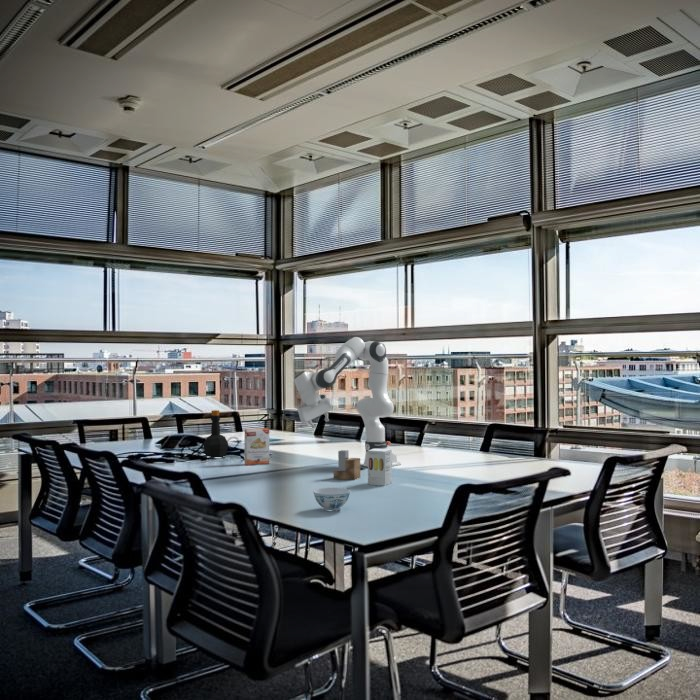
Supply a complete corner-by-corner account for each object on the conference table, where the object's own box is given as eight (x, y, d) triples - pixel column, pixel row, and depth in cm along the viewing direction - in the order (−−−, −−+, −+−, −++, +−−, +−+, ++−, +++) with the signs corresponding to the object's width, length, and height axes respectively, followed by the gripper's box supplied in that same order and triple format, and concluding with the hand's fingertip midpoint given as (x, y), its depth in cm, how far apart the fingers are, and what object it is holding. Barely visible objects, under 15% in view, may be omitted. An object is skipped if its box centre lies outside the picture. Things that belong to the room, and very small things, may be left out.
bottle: (208, 460, 442) (207, 411, 442) (199, 457, 456) (199, 410, 456) (232, 458, 450) (232, 410, 450) (223, 455, 464) (222, 409, 464)
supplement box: (367, 484, 348) (366, 450, 348) (374, 481, 356) (374, 448, 357) (385, 486, 344) (385, 451, 344) (392, 482, 352) (392, 448, 353)
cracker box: (246, 465, 416) (246, 429, 416) (244, 464, 422) (243, 429, 422) (270, 464, 421) (269, 428, 422) (267, 462, 427) (266, 427, 427)
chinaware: (351, 505, 298) (351, 487, 298) (349, 513, 283) (348, 494, 283) (315, 505, 299) (315, 487, 299) (311, 513, 284) (311, 494, 284)
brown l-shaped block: (333, 478, 367) (333, 459, 367) (339, 476, 374) (339, 457, 374) (354, 479, 362) (354, 460, 363) (360, 477, 370) (360, 458, 370)
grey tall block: (338, 478, 368) (338, 451, 368) (341, 477, 372) (341, 450, 372) (345, 478, 367) (345, 451, 367) (348, 477, 370) (348, 450, 370)
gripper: (299, 406, 375) (309, 430, 375) (327, 393, 388) (337, 416, 388) (293, 408, 380) (303, 432, 379) (321, 395, 393) (331, 418, 392)
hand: (320, 424), depth 384 cm, fingers open, 8 cm apart
